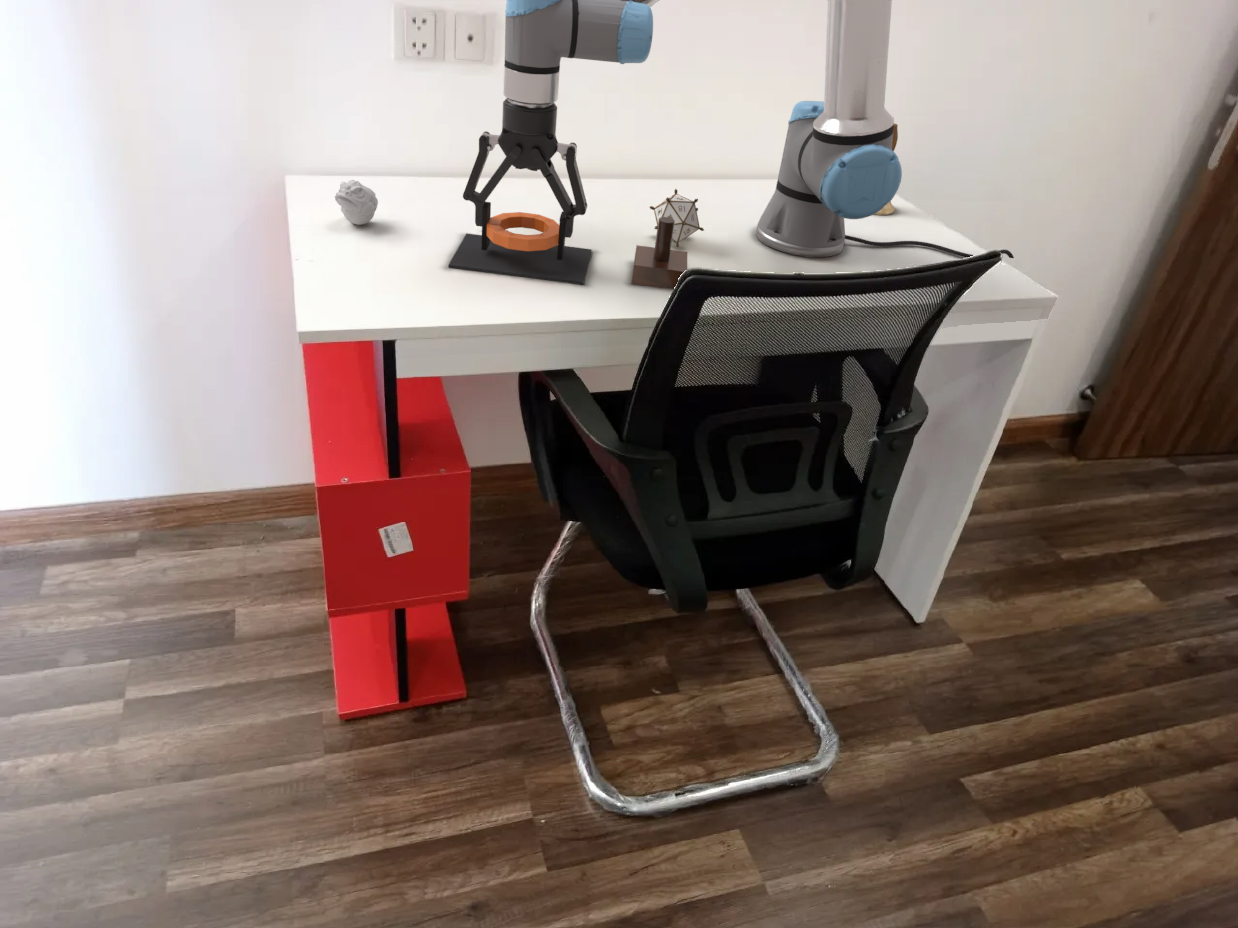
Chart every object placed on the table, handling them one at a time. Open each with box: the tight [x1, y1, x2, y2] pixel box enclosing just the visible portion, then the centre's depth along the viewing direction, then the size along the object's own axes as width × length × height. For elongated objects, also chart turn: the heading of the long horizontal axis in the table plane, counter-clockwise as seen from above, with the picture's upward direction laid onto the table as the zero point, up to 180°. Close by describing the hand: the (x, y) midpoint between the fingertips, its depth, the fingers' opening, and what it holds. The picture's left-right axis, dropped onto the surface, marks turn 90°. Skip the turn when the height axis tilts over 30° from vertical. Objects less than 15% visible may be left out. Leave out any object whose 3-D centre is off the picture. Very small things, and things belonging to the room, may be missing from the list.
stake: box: [631, 217, 689, 290], centre depth 136 cm, size 8×8×9 cm
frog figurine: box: [334, 179, 379, 226], centre depth 141 cm, size 6×7×7 cm
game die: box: [649, 188, 705, 249], centre depth 149 cm, size 9×8×10 cm
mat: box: [447, 232, 592, 285], centre depth 139 cm, size 20×13×1 cm, turn 86°
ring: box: [487, 211, 559, 251], centre depth 136 cm, size 11×11×2 cm
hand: (523, 251), depth 138 cm, fingers closed on ring, 11 cm apart
